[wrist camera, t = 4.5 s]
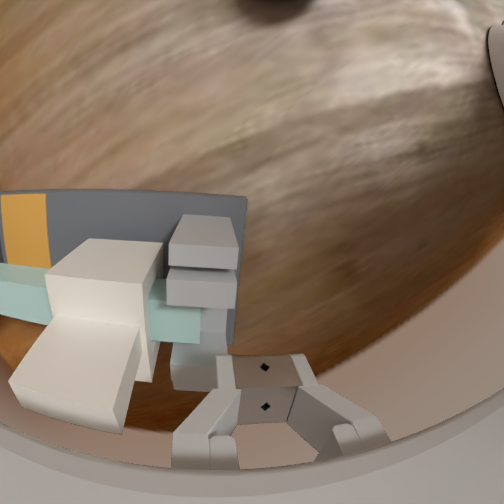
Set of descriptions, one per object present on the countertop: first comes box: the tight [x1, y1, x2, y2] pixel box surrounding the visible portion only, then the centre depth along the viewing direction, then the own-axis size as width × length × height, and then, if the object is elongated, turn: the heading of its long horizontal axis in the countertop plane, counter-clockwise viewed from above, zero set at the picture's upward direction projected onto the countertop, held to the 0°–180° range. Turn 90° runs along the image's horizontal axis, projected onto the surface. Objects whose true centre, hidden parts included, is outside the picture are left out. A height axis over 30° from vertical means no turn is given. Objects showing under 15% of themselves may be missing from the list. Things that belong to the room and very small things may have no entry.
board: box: [0, 189, 248, 346], centre depth 14 cm, size 20×9×1 cm, turn 84°
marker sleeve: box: [8, 238, 163, 435], centre depth 9 cm, size 4×5×9 cm
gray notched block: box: [166, 214, 239, 392], centre depth 13 cm, size 2×7×6 cm, turn 173°
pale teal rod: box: [0, 263, 201, 344], centre depth 11 cm, size 16×2×2 cm, turn 84°
